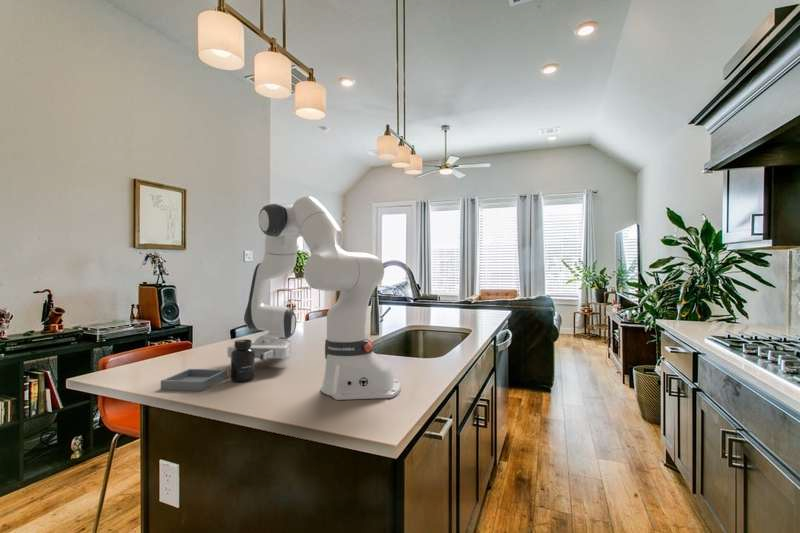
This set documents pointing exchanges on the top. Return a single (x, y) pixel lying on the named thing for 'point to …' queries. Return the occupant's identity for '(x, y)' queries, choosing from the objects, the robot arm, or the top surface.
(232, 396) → the top surface
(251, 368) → the supplement bottle
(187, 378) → the tray
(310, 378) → the top surface
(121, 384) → the top surface
